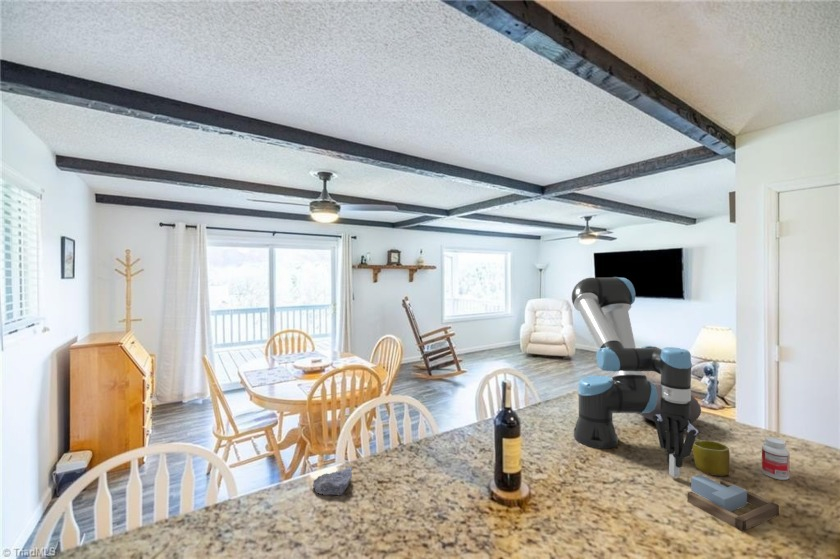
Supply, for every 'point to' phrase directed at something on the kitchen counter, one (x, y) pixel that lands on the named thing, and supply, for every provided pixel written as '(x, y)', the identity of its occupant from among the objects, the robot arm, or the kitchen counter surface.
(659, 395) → the smooth stone
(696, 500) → the bay
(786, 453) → the pill bottle
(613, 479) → the kitchen counter surface
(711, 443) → the mug
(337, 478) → the rock
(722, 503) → the blue t-shaped block
